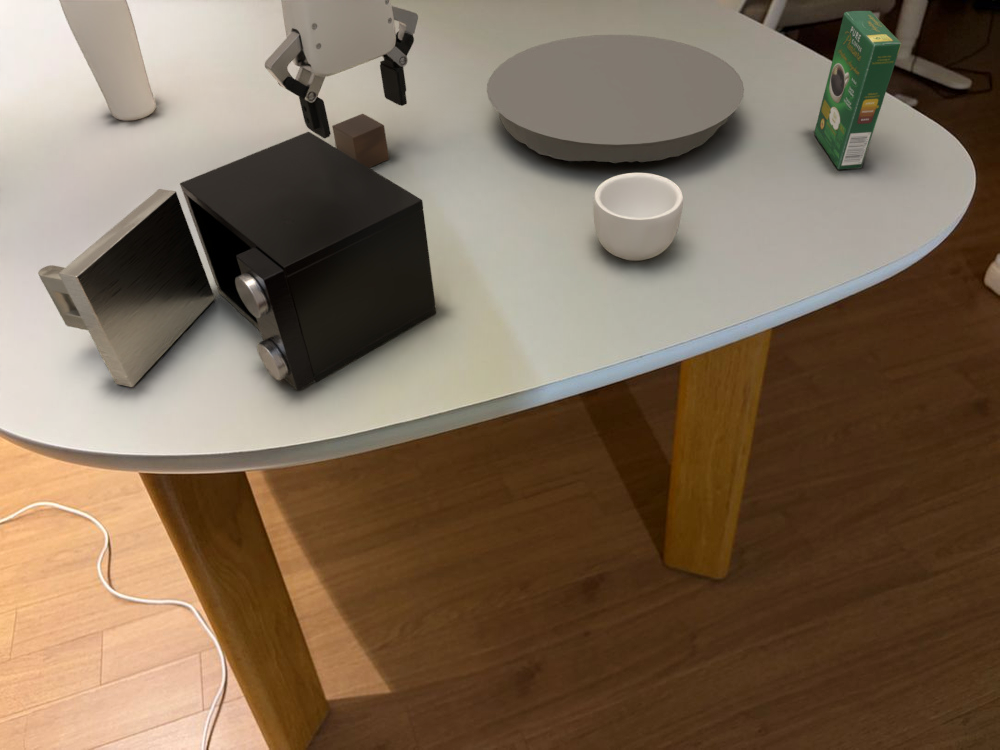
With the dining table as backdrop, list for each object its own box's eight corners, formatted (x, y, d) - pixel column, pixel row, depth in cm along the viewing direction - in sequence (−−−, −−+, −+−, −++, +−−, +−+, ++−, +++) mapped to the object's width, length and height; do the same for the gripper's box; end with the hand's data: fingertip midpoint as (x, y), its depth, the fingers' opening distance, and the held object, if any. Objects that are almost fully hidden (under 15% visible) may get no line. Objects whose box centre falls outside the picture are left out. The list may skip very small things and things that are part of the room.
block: (359, 172, 85) (353, 138, 83) (338, 160, 88) (331, 125, 85) (389, 159, 87) (384, 124, 85) (368, 147, 90) (362, 113, 87)
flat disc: (514, 65, 104) (513, 30, 101) (736, 75, 99) (742, 39, 96) (463, 175, 84) (460, 135, 81) (737, 194, 79) (745, 153, 76)
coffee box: (865, 170, 81) (904, 40, 72) (837, 172, 81) (872, 42, 72) (838, 133, 87) (871, 8, 78) (812, 134, 87) (842, 10, 78)
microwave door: (56, 370, 64) (-7, 260, 57) (145, 285, 72) (99, 179, 65) (132, 387, 62) (76, 276, 55) (215, 298, 70) (176, 191, 63)
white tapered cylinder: (170, 114, 98) (126, -16, 87) (114, 130, 95) (61, -2, 85) (154, 95, 102) (109, -31, 92) (100, 111, 99) (48, -18, 89)
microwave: (289, 398, 61) (252, 282, 53) (193, 305, 70) (150, 194, 62) (436, 313, 68) (422, 199, 60) (332, 238, 77) (308, 131, 69)
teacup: (654, 281, 69) (660, 229, 66) (576, 256, 73) (578, 205, 69) (698, 225, 75) (706, 174, 72) (624, 204, 79) (628, 154, 75)
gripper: (379, -90, 78) (403, 80, 90) (220, -46, 70) (269, 134, 82) (426, -77, 74) (445, 100, 86) (263, -28, 66) (308, 159, 78)
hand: (359, 117), depth 84 cm, fingers open, 9 cm apart
